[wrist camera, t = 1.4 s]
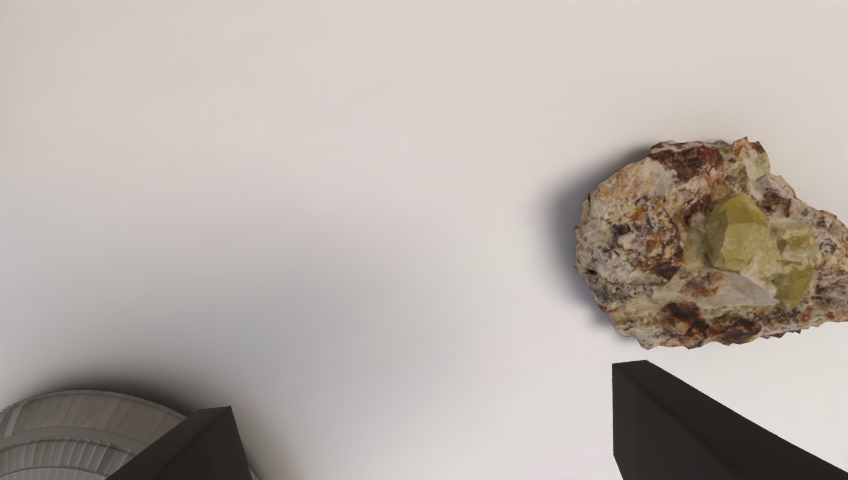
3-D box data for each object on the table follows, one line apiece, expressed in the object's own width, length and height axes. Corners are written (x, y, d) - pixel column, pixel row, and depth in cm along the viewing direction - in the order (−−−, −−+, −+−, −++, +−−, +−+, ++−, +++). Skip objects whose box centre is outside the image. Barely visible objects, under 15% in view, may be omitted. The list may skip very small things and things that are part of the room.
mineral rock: (542, 349, 17) (648, 133, 13) (528, 279, 20) (606, 94, 16) (827, 416, 17) (1018, 229, 13) (762, 335, 21) (895, 170, 17)
